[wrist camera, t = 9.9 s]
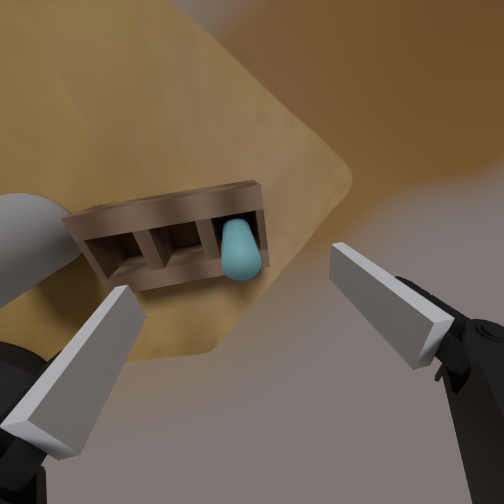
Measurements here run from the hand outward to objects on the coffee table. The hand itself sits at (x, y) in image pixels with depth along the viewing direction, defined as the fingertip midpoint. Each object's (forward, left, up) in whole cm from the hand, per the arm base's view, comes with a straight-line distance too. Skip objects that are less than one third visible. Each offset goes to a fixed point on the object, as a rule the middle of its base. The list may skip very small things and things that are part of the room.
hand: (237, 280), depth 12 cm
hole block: (-6, 0, -13) cm, 14 cm away
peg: (0, 0, -13) cm, 13 cm away
